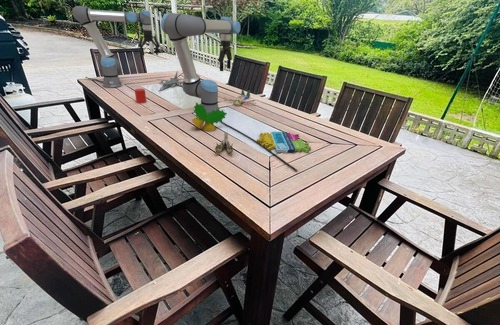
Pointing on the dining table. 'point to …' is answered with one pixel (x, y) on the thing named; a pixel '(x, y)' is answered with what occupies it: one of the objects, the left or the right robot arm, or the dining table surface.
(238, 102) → the toy
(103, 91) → the dining table surface
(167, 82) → the airplane
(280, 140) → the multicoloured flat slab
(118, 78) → the left robot arm
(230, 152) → the jawbone
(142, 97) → the can
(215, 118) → the ornament
